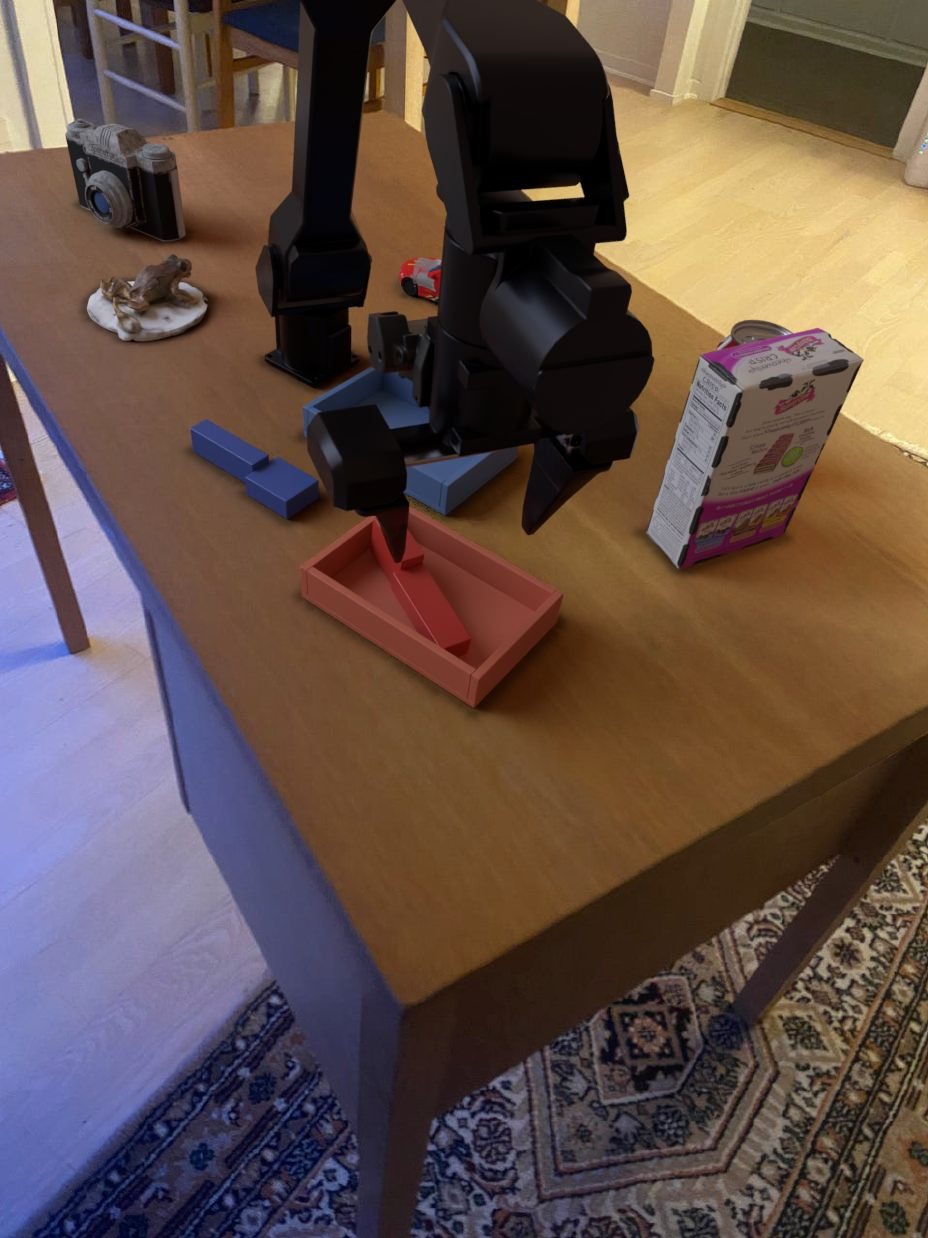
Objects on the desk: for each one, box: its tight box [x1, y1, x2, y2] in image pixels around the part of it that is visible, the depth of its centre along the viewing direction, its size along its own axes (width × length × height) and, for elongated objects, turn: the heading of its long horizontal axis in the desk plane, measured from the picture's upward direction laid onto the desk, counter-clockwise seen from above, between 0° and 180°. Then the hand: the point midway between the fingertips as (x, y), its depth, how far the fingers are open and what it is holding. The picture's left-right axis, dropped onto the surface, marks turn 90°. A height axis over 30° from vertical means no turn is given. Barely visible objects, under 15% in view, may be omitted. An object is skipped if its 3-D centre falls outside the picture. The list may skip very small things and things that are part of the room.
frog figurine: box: [86, 254, 208, 342], centre depth 87 cm, size 12×12×4 cm
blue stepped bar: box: [189, 418, 320, 520], centre depth 71 cm, size 11×4×2 cm, turn 54°
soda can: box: [715, 319, 794, 351], centre depth 76 cm, size 7×7×12 cm
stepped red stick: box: [370, 517, 471, 657], centre depth 62 cm, size 11×4×2 cm
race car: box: [398, 256, 442, 303], centre depth 94 cm, size 13×5×4 cm, turn 60°
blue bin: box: [302, 365, 519, 516], centre depth 76 cm, size 15×10×3 cm
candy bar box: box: [645, 327, 865, 570], centre depth 67 cm, size 11×5×16 cm, turn 117°
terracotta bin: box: [300, 505, 565, 709], centre depth 63 cm, size 15×10×3 cm
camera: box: [64, 117, 187, 242], centre depth 96 cm, size 15×7×10 cm, turn 58°
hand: (462, 544), depth 58 cm, fingers open, 9 cm apart
